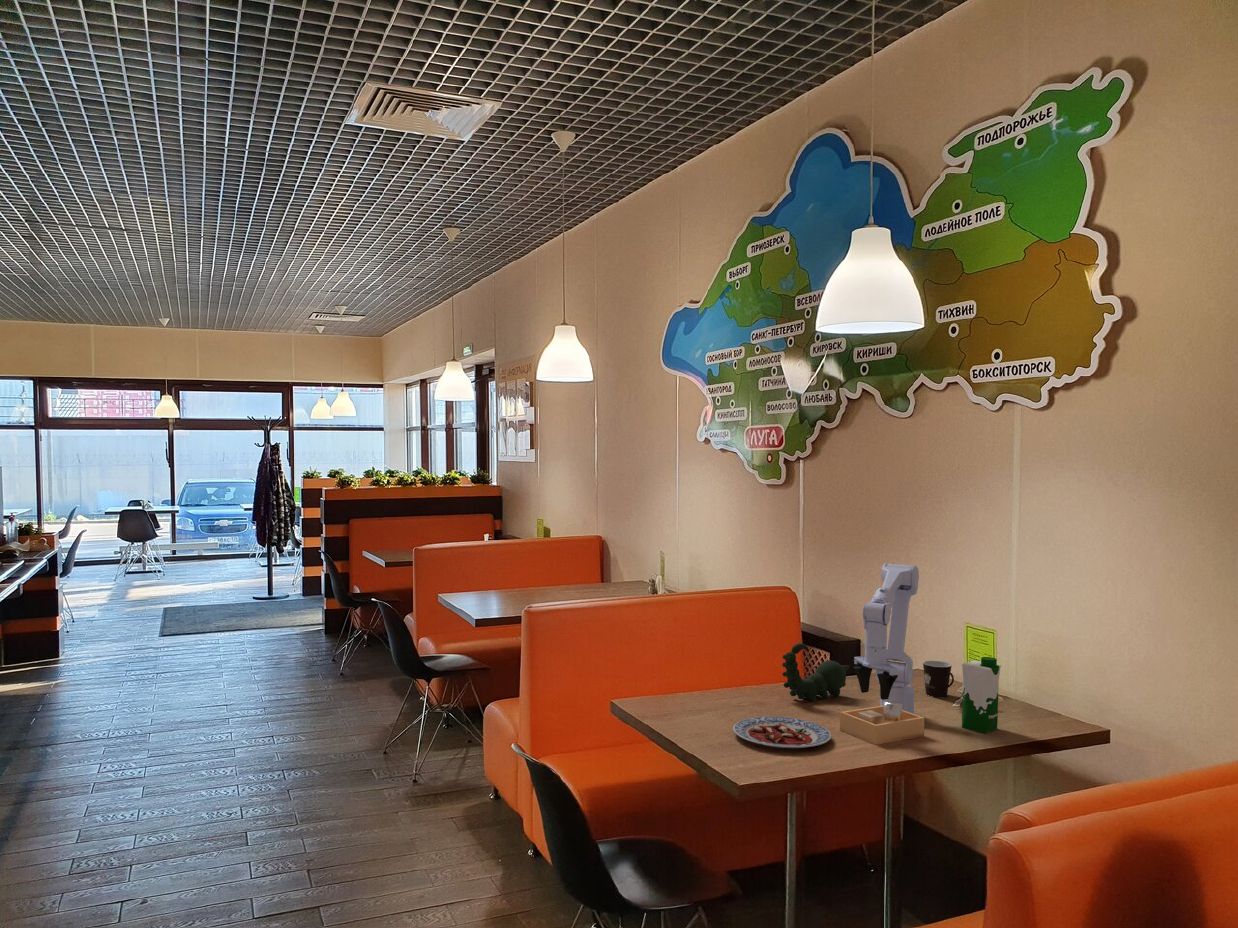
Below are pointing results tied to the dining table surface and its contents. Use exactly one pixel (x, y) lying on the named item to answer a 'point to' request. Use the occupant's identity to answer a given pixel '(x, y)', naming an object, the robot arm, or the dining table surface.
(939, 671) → the coffee mug
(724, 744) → the dining table surface
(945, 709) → the dining table surface
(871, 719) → the beech cube
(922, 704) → the dining table surface
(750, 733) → the ceramic plate
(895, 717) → the steel cylinder
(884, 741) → the light wood open box
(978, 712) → the milk carton
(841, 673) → the toy figurine
